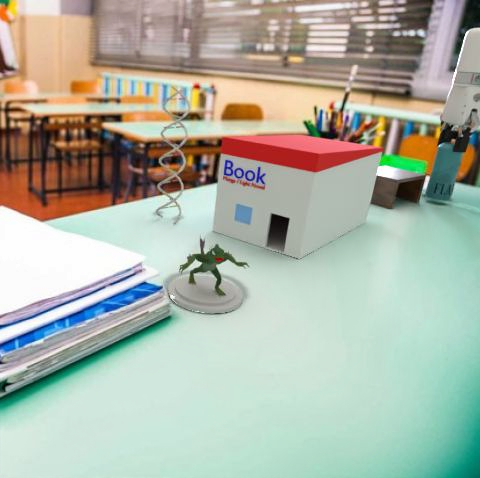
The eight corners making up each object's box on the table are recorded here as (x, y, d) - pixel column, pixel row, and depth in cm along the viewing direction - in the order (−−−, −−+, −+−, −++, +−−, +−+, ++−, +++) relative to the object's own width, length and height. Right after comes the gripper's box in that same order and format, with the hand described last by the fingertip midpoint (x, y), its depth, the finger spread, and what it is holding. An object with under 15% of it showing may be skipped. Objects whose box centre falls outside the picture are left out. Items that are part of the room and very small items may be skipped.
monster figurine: (181, 317, 74) (187, 254, 70) (159, 281, 85) (163, 225, 81) (255, 311, 76) (264, 250, 72) (224, 277, 87) (231, 223, 83)
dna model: (186, 224, 113) (198, 88, 102) (161, 226, 111) (171, 88, 100) (173, 215, 119) (183, 85, 108) (149, 217, 117) (157, 85, 106)
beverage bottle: (427, 204, 136) (447, 131, 129) (419, 198, 142) (438, 128, 135) (453, 207, 135) (475, 133, 127) (444, 200, 141) (464, 129, 133)
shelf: (419, 202, 137) (426, 174, 134) (390, 209, 130) (397, 179, 128) (378, 192, 147) (385, 165, 144) (349, 197, 140) (355, 169, 137)
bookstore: (211, 231, 109) (221, 136, 102) (287, 202, 133) (300, 124, 125) (298, 260, 96) (318, 153, 88) (366, 222, 119) (386, 136, 111)
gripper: (508, 82, 118) (485, 156, 125) (464, 78, 134) (446, 144, 141) (476, 81, 118) (455, 155, 125) (436, 77, 135) (419, 143, 141)
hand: (450, 148), depth 133 cm, fingers closed on beverage bottle, 6 cm apart
